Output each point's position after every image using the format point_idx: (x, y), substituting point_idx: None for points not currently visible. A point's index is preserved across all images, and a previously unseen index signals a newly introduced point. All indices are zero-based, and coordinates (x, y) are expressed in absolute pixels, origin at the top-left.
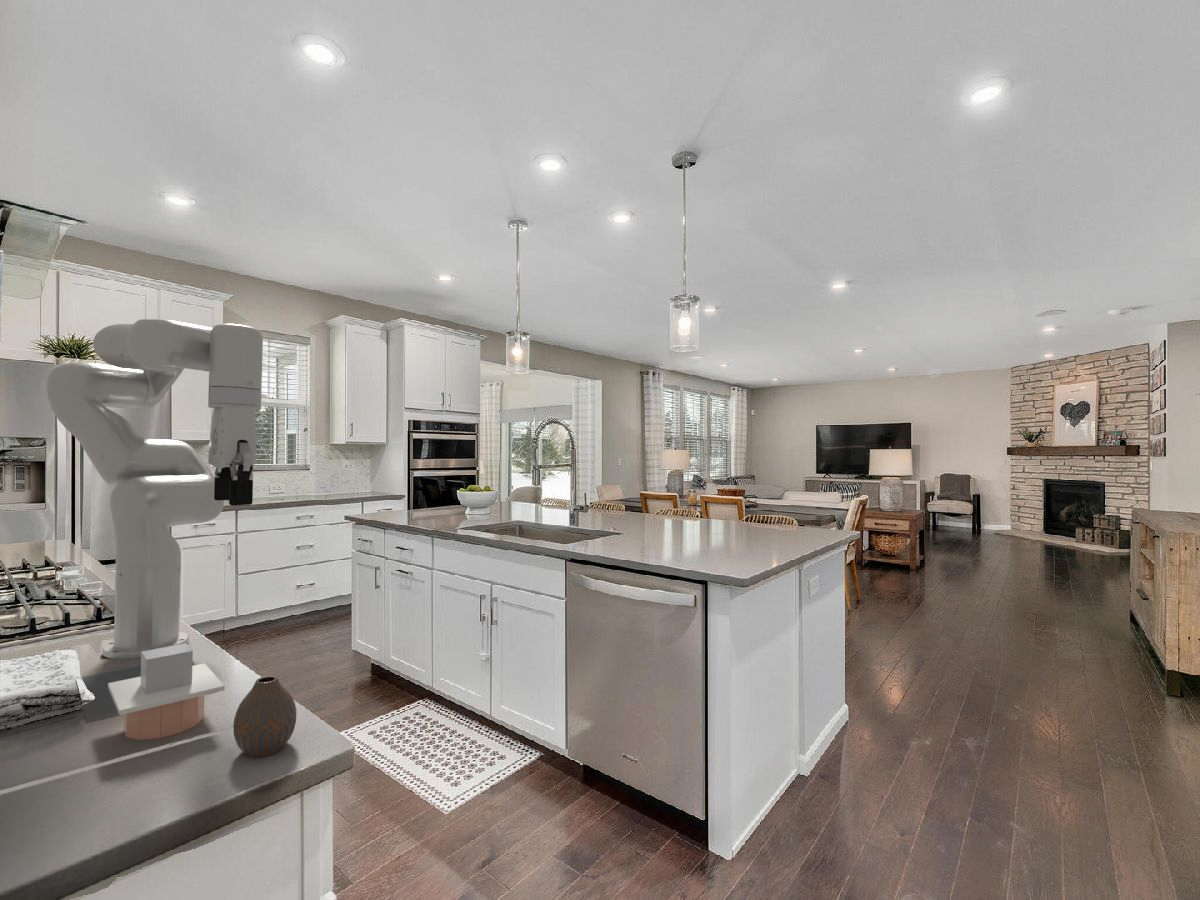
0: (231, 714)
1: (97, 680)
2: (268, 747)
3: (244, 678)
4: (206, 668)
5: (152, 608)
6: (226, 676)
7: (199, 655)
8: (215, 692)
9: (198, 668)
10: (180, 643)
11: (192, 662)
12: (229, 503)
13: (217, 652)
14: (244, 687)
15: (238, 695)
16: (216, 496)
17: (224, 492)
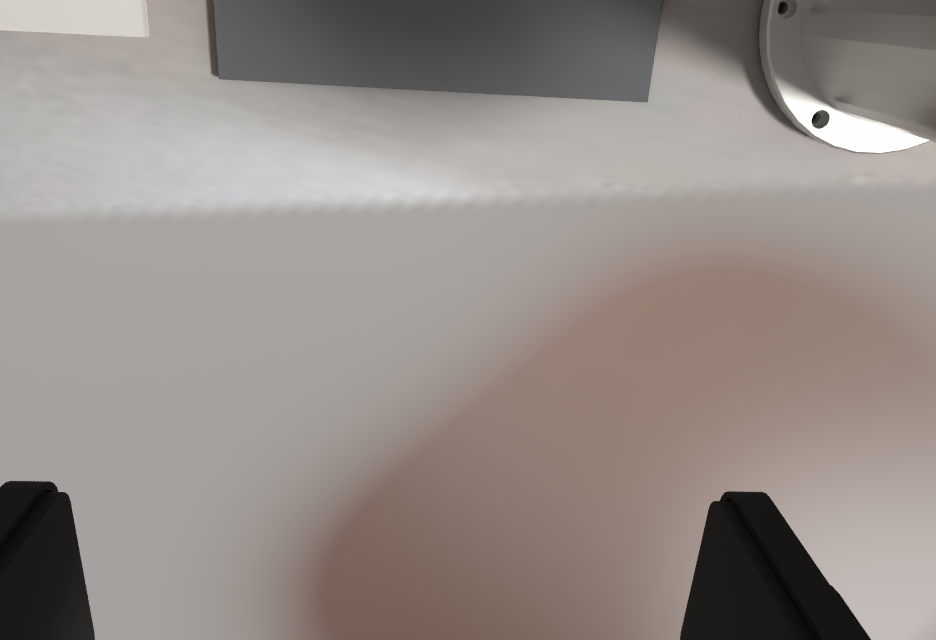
0: (23, 64)
1: None
2: None
3: (315, 182)
4: (76, 25)
5: (892, 13)
6: (373, 145)
7: (655, 136)
8: (219, 73)
9: (92, 3)
10: (784, 106)
11: (571, 93)
12: (20, 484)
13: (641, 190)
14: (232, 158)
15: (173, 125)
16: (723, 523)
17: (729, 625)
